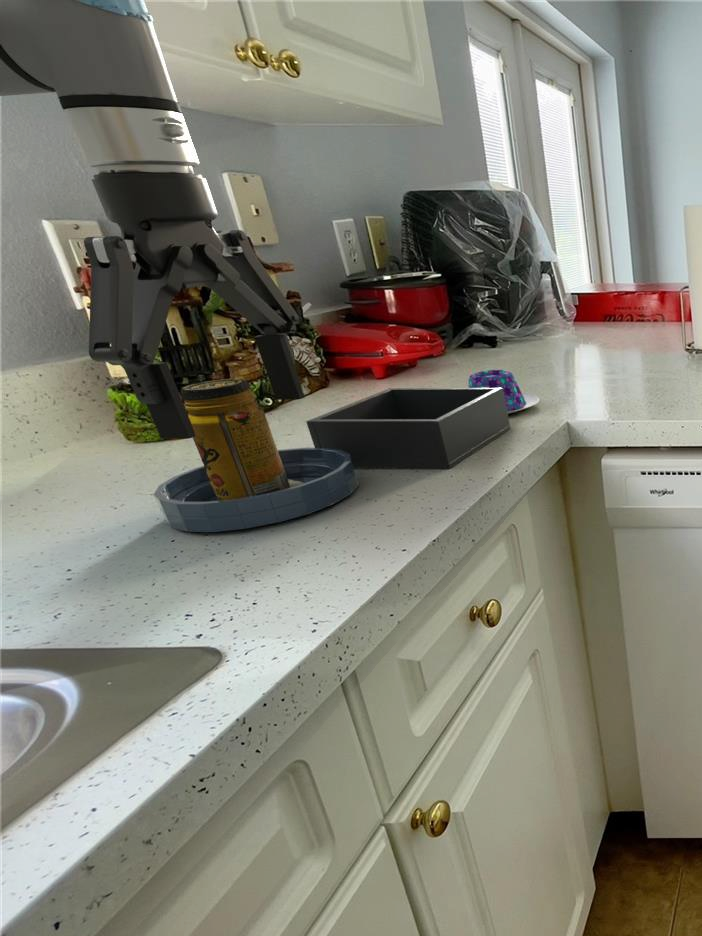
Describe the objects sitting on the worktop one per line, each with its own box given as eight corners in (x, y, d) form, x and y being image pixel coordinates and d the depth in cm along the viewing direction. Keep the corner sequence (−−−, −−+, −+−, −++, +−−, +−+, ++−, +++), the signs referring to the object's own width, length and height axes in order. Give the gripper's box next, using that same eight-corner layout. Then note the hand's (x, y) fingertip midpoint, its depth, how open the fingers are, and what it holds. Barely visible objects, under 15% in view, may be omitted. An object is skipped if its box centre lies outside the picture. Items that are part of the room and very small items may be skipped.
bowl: (122, 534, 66) (107, 503, 65) (256, 474, 81) (246, 447, 79) (285, 537, 65) (273, 504, 63) (391, 475, 79) (383, 447, 78)
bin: (321, 468, 82) (305, 421, 80) (400, 429, 96) (389, 388, 94) (449, 468, 81) (438, 421, 78) (510, 429, 95) (502, 387, 93)
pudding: (546, 412, 102) (539, 376, 100) (455, 424, 97) (447, 387, 95) (533, 394, 112) (527, 361, 110) (450, 405, 107) (442, 370, 105)
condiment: (201, 508, 70) (151, 389, 65) (286, 480, 77) (248, 370, 72) (246, 519, 68) (198, 395, 63) (330, 489, 75) (293, 375, 70)
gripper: (31, 162, 48) (160, 458, 57) (295, 174, 71) (358, 385, 80) (-67, 166, 49) (76, 458, 58) (225, 177, 72) (296, 386, 80)
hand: (239, 416), depth 69 cm, fingers open, 13 cm apart
